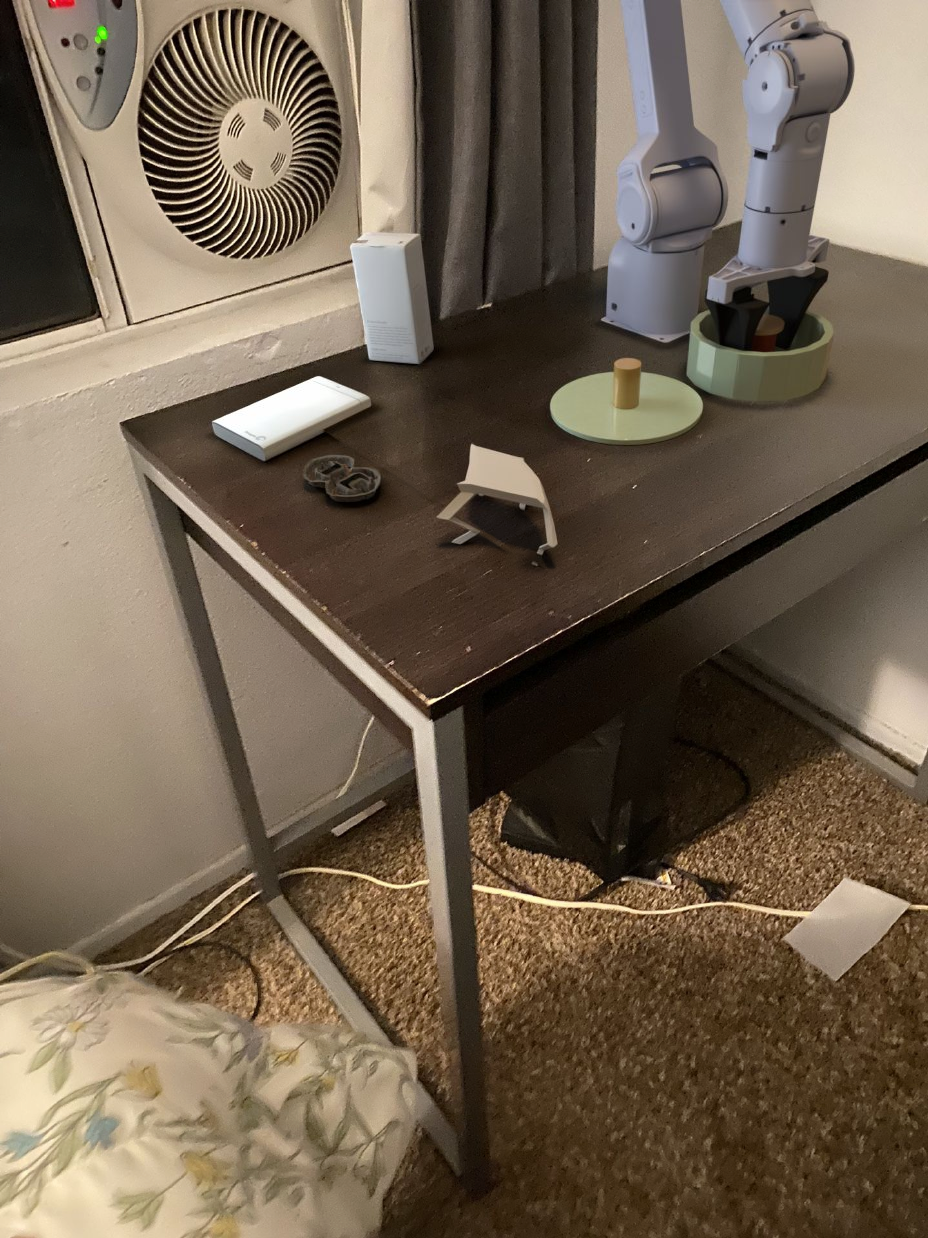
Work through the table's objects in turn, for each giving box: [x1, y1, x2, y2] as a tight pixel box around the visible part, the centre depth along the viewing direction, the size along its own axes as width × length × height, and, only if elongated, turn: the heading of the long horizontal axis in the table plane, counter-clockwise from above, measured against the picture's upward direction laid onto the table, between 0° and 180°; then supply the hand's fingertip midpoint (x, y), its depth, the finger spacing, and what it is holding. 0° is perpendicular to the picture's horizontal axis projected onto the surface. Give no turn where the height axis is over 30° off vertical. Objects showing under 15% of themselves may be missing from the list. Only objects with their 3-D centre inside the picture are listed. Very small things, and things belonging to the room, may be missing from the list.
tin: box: [686, 306, 835, 403], centre depth 85 cm, size 13×13×5 cm
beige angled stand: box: [435, 443, 558, 567], centre depth 67 cm, size 12×8×5 cm
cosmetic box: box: [349, 231, 435, 365], centre depth 92 cm, size 6×4×12 cm
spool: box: [751, 314, 784, 352], centre depth 85 cm, size 4×4×5 cm
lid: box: [549, 357, 704, 446], centre depth 81 cm, size 14×14×5 cm
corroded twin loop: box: [302, 454, 382, 503], centre depth 75 cm, size 5×8×1 cm, turn 45°
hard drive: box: [211, 375, 372, 462], centre depth 85 cm, size 2×8×12 cm
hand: (756, 356), depth 85 cm, fingers open, 6 cm apart
